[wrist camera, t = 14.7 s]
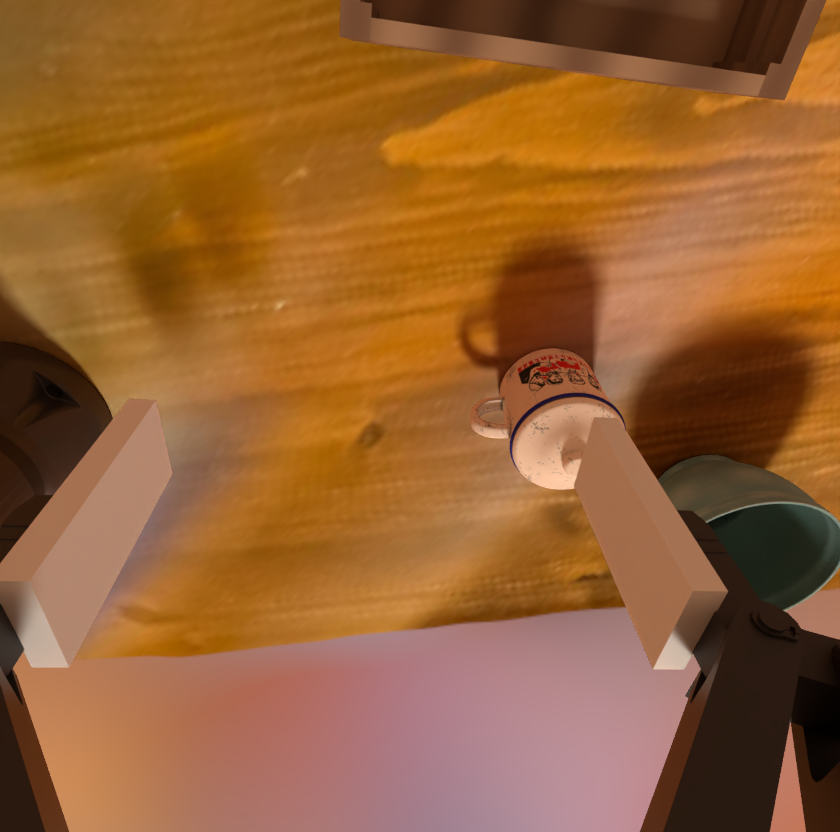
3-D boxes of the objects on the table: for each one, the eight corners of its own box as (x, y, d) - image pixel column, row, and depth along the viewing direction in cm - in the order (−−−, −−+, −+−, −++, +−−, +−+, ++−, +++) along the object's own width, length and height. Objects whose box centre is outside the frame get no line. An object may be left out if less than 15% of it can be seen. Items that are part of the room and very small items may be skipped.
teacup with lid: (604, 344, 48) (653, 417, 38) (585, 429, 53) (625, 513, 43) (468, 342, 48) (482, 415, 38) (462, 428, 53) (473, 512, 43)
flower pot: (759, 535, 61) (820, 619, 52) (612, 551, 62) (646, 635, 53) (793, 416, 52) (873, 491, 43) (621, 436, 53) (664, 513, 44)
